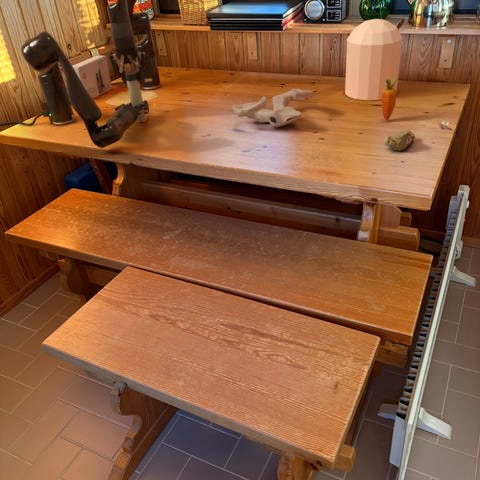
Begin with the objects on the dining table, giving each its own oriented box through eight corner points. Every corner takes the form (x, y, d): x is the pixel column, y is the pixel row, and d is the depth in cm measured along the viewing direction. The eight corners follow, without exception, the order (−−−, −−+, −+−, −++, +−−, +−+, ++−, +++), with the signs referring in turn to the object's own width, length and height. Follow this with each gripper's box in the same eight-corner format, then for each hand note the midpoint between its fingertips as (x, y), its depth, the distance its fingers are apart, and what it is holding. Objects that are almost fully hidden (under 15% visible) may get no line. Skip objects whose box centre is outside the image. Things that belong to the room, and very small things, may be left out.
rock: (408, 140, 153) (379, 139, 152) (414, 122, 149) (384, 120, 148) (421, 154, 144) (391, 153, 143) (428, 135, 140) (396, 133, 139)
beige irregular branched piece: (230, 133, 167) (227, 101, 161) (244, 110, 188) (241, 81, 182) (308, 133, 161) (308, 99, 155) (313, 109, 182) (314, 78, 176)
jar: (132, 121, 188) (122, 75, 177) (140, 117, 191) (131, 71, 180) (140, 122, 186) (131, 76, 175) (148, 119, 189) (139, 72, 178)
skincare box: (87, 102, 214) (77, 67, 204) (78, 102, 215) (68, 66, 206) (113, 88, 229) (105, 54, 220) (104, 88, 231) (96, 54, 222)
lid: (122, 80, 178) (121, 74, 177) (132, 76, 182) (131, 70, 180) (132, 81, 176) (130, 75, 175) (141, 77, 179) (140, 71, 178)
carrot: (394, 118, 167) (398, 76, 158) (393, 123, 163) (397, 80, 154) (379, 117, 168) (383, 75, 160) (378, 122, 165) (382, 80, 156)
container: (366, 103, 181) (371, 27, 166) (334, 91, 198) (337, 19, 182) (408, 92, 188) (417, 17, 172) (374, 81, 204) (379, 11, 188)
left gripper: (140, 107, 170) (155, 92, 183) (104, 108, 172) (121, 93, 186) (144, 127, 174) (158, 111, 188) (109, 127, 177) (125, 112, 190)
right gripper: (144, 31, 172) (152, 77, 182) (107, 34, 174) (117, 79, 183) (139, 35, 166) (148, 83, 176) (100, 38, 167) (112, 85, 177)
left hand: (139, 102), depth 187 cm, fingers closed on jar, 4 cm apart
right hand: (132, 81), depth 179 cm, fingers closed on lid, 5 cm apart
